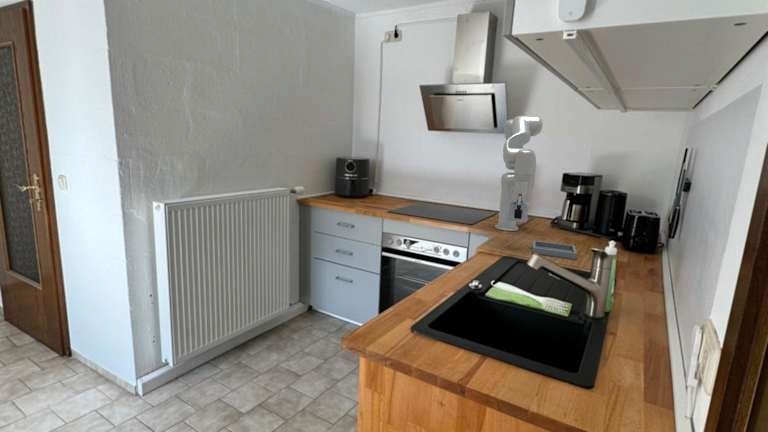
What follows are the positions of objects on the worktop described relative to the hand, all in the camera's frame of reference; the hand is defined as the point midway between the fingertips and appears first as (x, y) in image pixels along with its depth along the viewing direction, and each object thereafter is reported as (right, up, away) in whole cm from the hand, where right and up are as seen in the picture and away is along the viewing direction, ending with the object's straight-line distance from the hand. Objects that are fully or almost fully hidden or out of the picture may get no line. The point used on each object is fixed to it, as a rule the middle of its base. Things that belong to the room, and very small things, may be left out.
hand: (517, 216), depth 188 cm
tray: (+16, -16, -1) cm, 23 cm away
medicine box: (0, -2, 0) cm, 2 cm away
